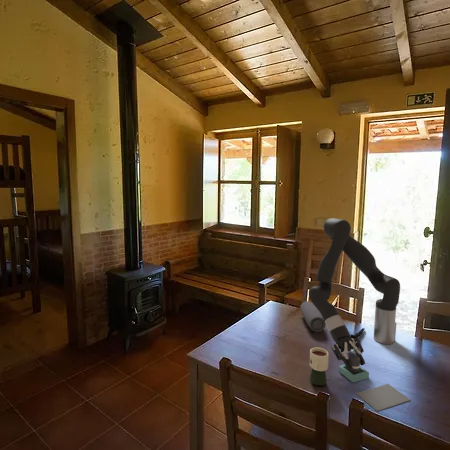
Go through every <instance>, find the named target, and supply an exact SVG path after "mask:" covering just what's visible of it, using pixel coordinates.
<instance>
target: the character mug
mask: <svg viewBox="0 0 450 450" xmlns="http://www.w3.org/2000/svg"><path fill="white" fill-rule="evenodd" d="M329 354H330V353H329V351H328V350H327V349H324V348H322V347H313V348H310V349H309V367H311V372H310V377H309V381H310V383H311V384H313V385H314V386H315V385H316V386H325V385H326V384H327V373H326V372H327V371H328V369H329V358H330V357H329Z"/></svg>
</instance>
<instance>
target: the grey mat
mask: <svg viewBox="0 0 450 450" xmlns="http://www.w3.org/2000/svg"><path fill="white" fill-rule="evenodd" d="M355 395H357V396H358V397H359V398H360V399H362V400H363V401H364V402H365V403H366V404H367V405H369V406H370V407H371V409H374V410H375V411H376V412H380V411H383V410H386V409H388V408H391V407H395V406H397V405H400V404H404V403H407V402H410V401H411V398H409V397H407V396H406V395H405V394H403V393H402V392H401V391H399V390H397V389H396V388H395V387H393V386H392V385H390V384H389V383H386V384H382V385H380V386H377V387H372V388H368V389H366V390H363V391H359V392H356V393H355Z"/></svg>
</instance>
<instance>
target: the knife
mask: <svg viewBox="0 0 450 450" xmlns="http://www.w3.org/2000/svg"><path fill="white" fill-rule="evenodd" d="M364 332H365V328H364V327H362V328H361V329H360V330H359V331H358V332H355V333H354V334H351V333H350V337H351V339H356V338H358V339H359V338H360V336H362V334H363V333H364Z"/></svg>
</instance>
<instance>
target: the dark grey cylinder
mask: <svg viewBox="0 0 450 450" xmlns="http://www.w3.org/2000/svg"><path fill="white" fill-rule="evenodd" d="M348 359H349V361H350V363H351V365H352V367H353V368H352V369H350V370H348V371H349V372H350V373H351V374H353V375H355V374H358V373H359V370H360V366H361V365H360V358H359V357H358V356H356V355H355V354H350V355H348Z"/></svg>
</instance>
